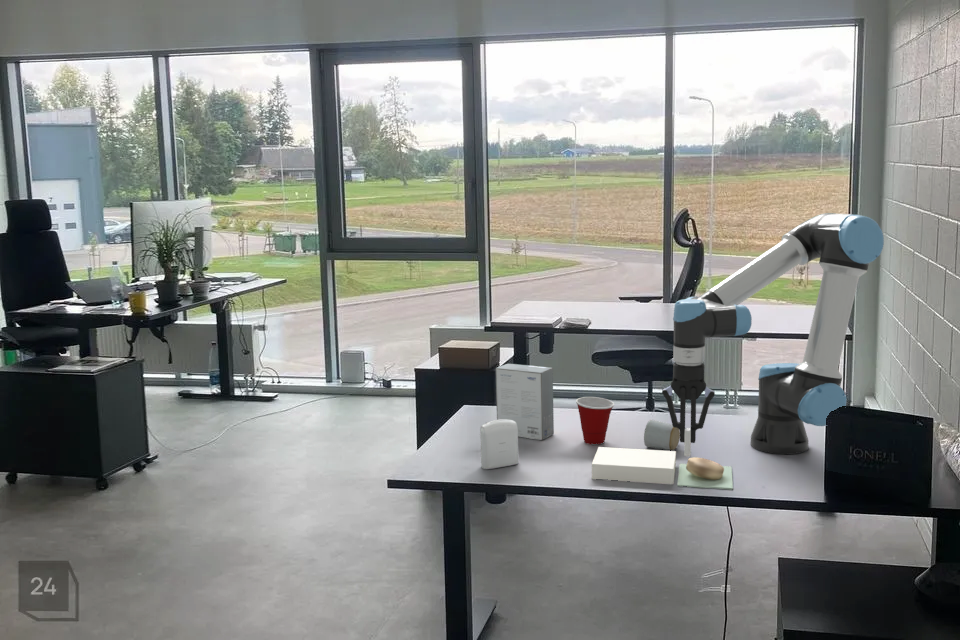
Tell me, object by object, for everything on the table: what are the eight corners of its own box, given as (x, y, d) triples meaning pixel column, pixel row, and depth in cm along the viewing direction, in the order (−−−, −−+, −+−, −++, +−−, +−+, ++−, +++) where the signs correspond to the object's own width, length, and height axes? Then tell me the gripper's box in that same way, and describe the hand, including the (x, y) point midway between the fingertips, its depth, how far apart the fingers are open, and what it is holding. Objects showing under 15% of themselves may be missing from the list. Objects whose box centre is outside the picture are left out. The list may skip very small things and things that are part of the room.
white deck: (675, 466, 237) (675, 451, 237) (673, 484, 224) (673, 468, 223) (598, 461, 242) (598, 446, 242) (591, 479, 229) (591, 463, 228)
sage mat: (731, 468, 235) (731, 466, 235) (732, 489, 220) (732, 488, 219) (679, 464, 238) (679, 463, 238) (677, 486, 223) (677, 484, 223)
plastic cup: (610, 449, 252) (610, 407, 250) (572, 446, 256) (571, 404, 254) (617, 437, 262) (617, 397, 260) (580, 434, 266) (580, 394, 264)
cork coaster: (722, 470, 232) (723, 463, 231) (722, 482, 223) (724, 475, 223) (686, 461, 234) (688, 454, 233) (685, 473, 225) (687, 465, 225)
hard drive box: (554, 434, 267) (554, 367, 264) (542, 441, 261) (541, 373, 257) (509, 427, 275) (508, 362, 272) (495, 433, 269) (494, 367, 266)
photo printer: (484, 471, 237) (483, 424, 235) (478, 466, 241) (477, 420, 239) (521, 465, 241) (520, 419, 239) (514, 460, 245) (513, 415, 242)
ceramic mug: (671, 454, 247) (672, 426, 245) (642, 450, 251) (643, 422, 250) (684, 444, 256) (685, 417, 254) (656, 440, 260) (657, 414, 259)
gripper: (661, 365, 223) (660, 457, 227) (716, 366, 220) (714, 460, 224) (662, 358, 230) (661, 448, 234) (716, 360, 227) (714, 451, 231)
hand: (687, 454), depth 229 cm, fingers closed
